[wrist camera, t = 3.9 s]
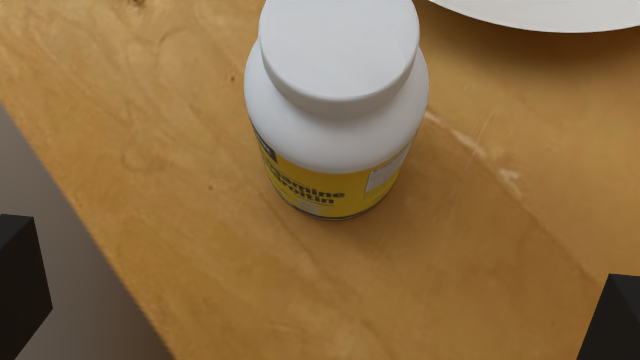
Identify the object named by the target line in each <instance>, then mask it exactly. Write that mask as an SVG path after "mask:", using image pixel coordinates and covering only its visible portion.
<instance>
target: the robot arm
mask: <svg viewBox="0 0 640 360" xmlns="http://www.w3.org/2000/svg"><path fill="white" fill-rule="evenodd" d="M52 309H53V307H52V303H51V297H50V293H49V288H48V283H47V279H46V274H45V269H44V264H43V260H42V255H41V250H40V246H39V241H38V237H37V232H36V227H35V223H34V218H33V217H28V216H18V215H7V214H1V215H0V360H15V358H16V357H17V356H18V354H19V353H20V352H21V350H22V349H23V348H24V346H25V345H26V344H27V342H28V341H29V340H30V338H31V337H32V336H33V334H34V333H35V332H36V331H37V329H38V328H39V327H40V325H41V324H42V323H43V321H44V320H45V319H46V317H47V316H48V315H49V313H50V312H51V311H52ZM576 360H640V276H630V275H620V274H610V273H609V275H608V278H607V281H606V283H605V286H604V288H603V291H602V294H601V296H600V299H599V302H598V304H597V307H596V309H595V312H594V315H593V317H592V320H591V322H590V325H589V328H588V330H587V333H586V336H585V338H584V341H583V343H582V346H581V349H580V351H579V354H578V357H577V359H576Z"/></svg>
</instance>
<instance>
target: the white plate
mask: <svg viewBox="0 0 640 360" xmlns="http://www.w3.org/2000/svg"><path fill="white" fill-rule="evenodd" d="M429 1H431V2H434V3H436V4H438V5H440V6H443V7H445V8H447V9H450V10H452V11H455V12H458V13H461V14H463V15H466V16H469V17H473V18H476V19H479V20H483V21H486V22H490V23H494V24H499V25H503V26H508V27H514V28H519V29H526V30H534V31H544V32H561V33H581V32H599V31H608V30H616V29H622V28H628V27H633V26H638V25H640V0H429Z"/></svg>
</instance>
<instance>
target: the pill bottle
mask: <svg viewBox="0 0 640 360" xmlns="http://www.w3.org/2000/svg"><path fill="white" fill-rule="evenodd" d="M419 39H420V27H419V20H418V16H417V12H416V9H415V6H414V4H413V2H412V0H266V3H265V5H264V7H263V10H262V13H261V17H260V20H259V37H258V39H257V40H256V42H255V44H254V46H253V48H252V50H251V52H250V55H249V57H248V60H247V64H246V67H245V74H244V95H245V102H246V106H247V110H248V114H249V117H250V120H251V123H252V126H253V128H254V132H255V135H256V138H257V141H258V144H259V147H260V150H261V154H262V157H263V160H264V163H265V166H266V169H267V172H268V175H269V178H270V180H271V182H272V184H273V186H274V187H275V189H276V190H277V192H278V193H279V194H280V196H281V197H282V198H283V199H284V200H285V201H286V202H287V203H288V204H290V205H291V206H292V207H294V208H295V209H297V210H298V211H300V212H302V213H304V214H306V215H309V216H312V217H315V218H319V219H326V220H341V219H347V218H351V217H355V216H357V215H360V214H362V213H364V212H366V211H368V210H370V209H371V208H373V207H374V206H376V205H377V204H378V203H379V202H380V201H381V200H382V199H383V198H384V197H385V196H386V195H387V194H388V192H389V191H390V189H391V188H392V186H393V185H394V183H395V181H396V179H397V176H398V174H399V172H400V169H401V167H402V165H403V162H404V160H405V158H406V156H407V154H408V151H409V149H410V147H411V144H412V142H413V140H414V138H415V135H416V133H417V131H418V129H419V126H420V124H421V122H422V119H423V116H424V113H425V110H426V106H427V102H428V95H429V75H428V70H427V65H426V62H425V59H424V56H423V53H422V51H421V49H420V47H419V45H418V44H419Z"/></svg>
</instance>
